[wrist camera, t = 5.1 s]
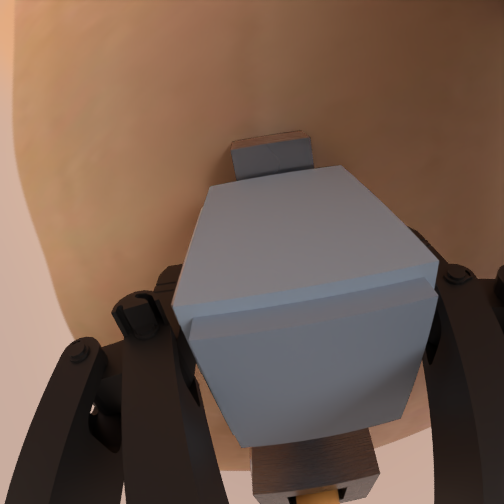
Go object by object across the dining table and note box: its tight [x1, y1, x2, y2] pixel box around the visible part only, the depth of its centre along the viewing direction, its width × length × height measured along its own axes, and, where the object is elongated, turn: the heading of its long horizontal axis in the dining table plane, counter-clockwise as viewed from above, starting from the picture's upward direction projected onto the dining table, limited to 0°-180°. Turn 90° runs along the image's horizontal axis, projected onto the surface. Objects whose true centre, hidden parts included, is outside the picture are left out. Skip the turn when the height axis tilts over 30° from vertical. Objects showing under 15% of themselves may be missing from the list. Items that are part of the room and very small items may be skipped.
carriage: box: [173, 165, 439, 448], centre depth 9 cm, size 5×5×8 cm
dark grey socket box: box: [250, 428, 380, 504], centre depth 20 cm, size 7×8×8 cm
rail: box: [231, 131, 314, 181], centre depth 16 cm, size 17×3×2 cm, turn 10°
